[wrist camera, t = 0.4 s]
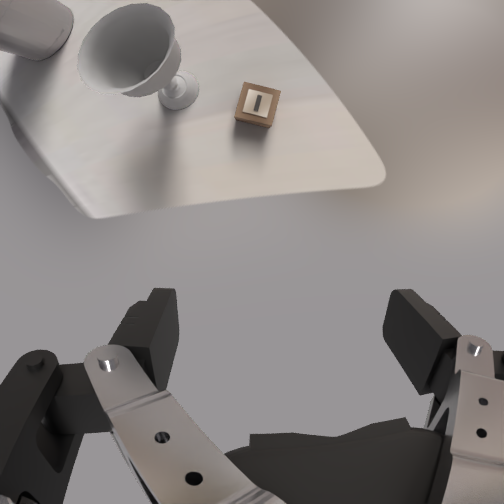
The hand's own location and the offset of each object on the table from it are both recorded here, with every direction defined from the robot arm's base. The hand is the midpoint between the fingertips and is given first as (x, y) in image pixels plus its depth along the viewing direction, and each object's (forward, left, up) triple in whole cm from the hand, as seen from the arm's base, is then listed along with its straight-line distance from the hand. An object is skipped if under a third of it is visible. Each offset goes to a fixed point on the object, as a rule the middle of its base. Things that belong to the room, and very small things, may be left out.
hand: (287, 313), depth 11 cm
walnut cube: (-8, +7, -28) cm, 30 cm away
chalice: (-16, +3, -28) cm, 32 cm away
